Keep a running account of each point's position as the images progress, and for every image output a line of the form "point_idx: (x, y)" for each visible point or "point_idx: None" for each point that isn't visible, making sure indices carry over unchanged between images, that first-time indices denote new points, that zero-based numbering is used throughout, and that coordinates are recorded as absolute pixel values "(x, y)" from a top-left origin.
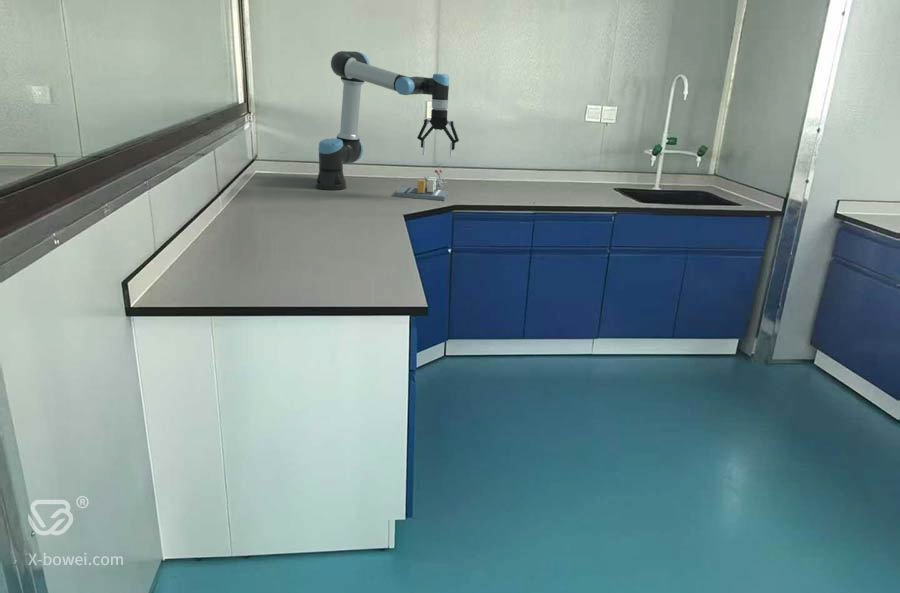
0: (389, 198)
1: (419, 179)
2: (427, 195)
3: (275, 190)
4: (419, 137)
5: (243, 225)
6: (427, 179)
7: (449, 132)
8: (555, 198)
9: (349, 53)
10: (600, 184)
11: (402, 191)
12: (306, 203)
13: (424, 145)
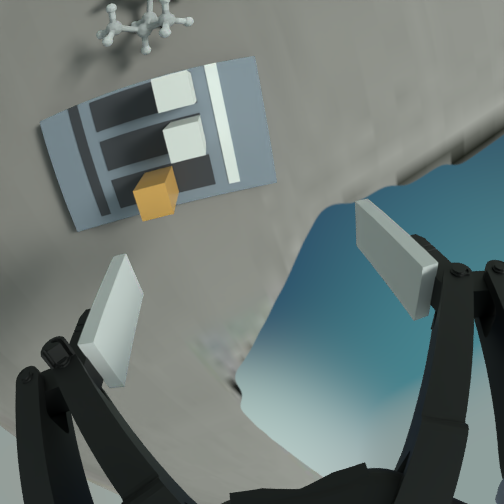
0: (87, 263)
1: (134, 191)
2: (202, 198)
3: None
4: (66, 416)
5: (91, 470)
6: (118, 30)
7: (469, 375)
8: None
9: None
10: None
11: (85, 200)
12: None
13: (129, 352)
